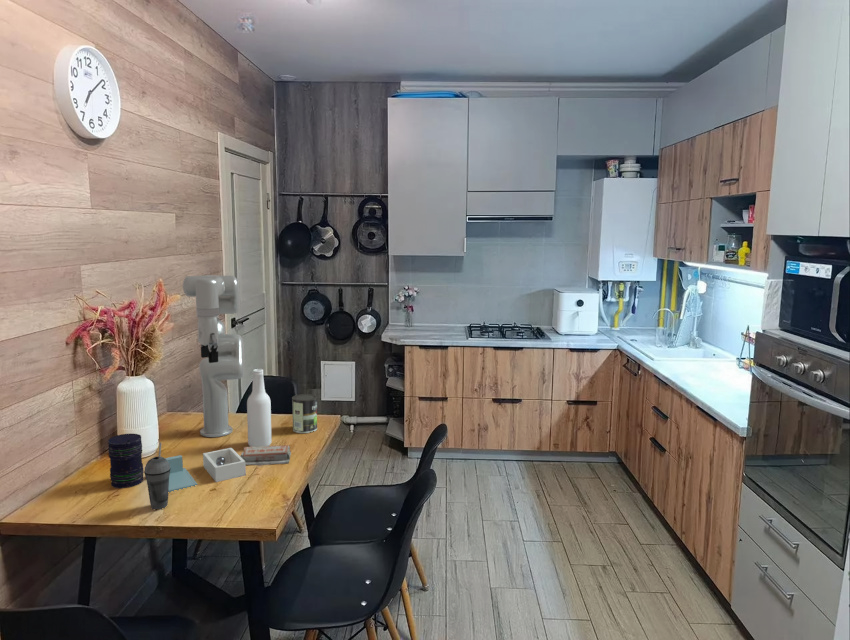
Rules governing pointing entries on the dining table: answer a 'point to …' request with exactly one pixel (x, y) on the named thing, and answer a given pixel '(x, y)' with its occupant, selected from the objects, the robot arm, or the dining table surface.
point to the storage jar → (126, 460)
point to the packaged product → (266, 455)
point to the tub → (231, 467)
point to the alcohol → (259, 413)
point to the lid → (179, 474)
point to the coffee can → (304, 413)
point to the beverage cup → (158, 481)
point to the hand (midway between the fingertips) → (209, 359)
